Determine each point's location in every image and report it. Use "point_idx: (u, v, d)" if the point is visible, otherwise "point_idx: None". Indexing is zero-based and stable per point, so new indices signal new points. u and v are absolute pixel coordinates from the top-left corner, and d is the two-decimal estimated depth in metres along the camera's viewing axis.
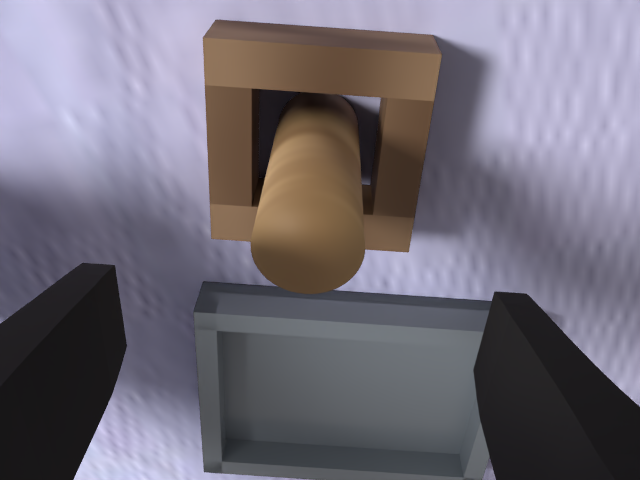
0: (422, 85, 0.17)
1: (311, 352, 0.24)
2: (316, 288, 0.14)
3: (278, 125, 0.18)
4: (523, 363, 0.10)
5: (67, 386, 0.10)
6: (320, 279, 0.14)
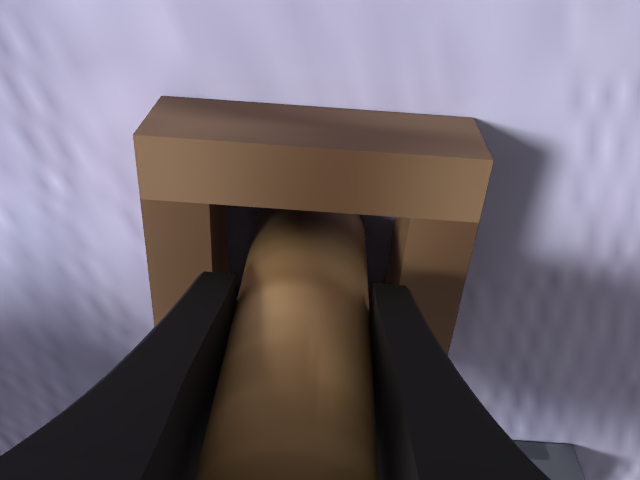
0: (462, 201, 0.11)
1: None
2: None
3: (252, 243, 0.13)
4: (382, 354, 0.10)
5: (206, 395, 0.10)
6: None
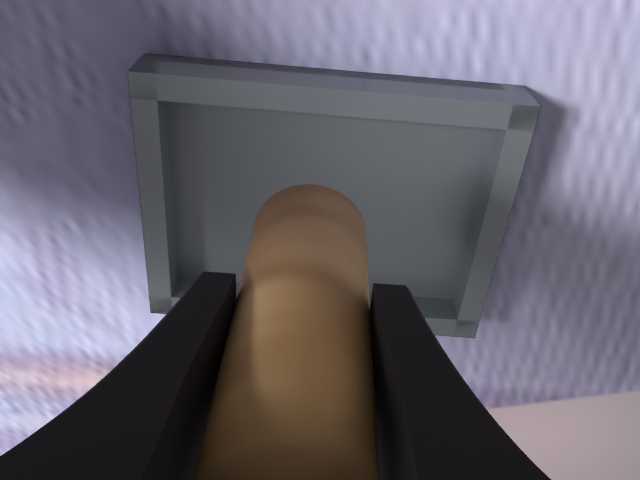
0: None
1: (276, 151, 0.20)
2: None
3: (251, 240, 0.13)
4: (382, 353, 0.10)
5: (207, 395, 0.10)
6: None
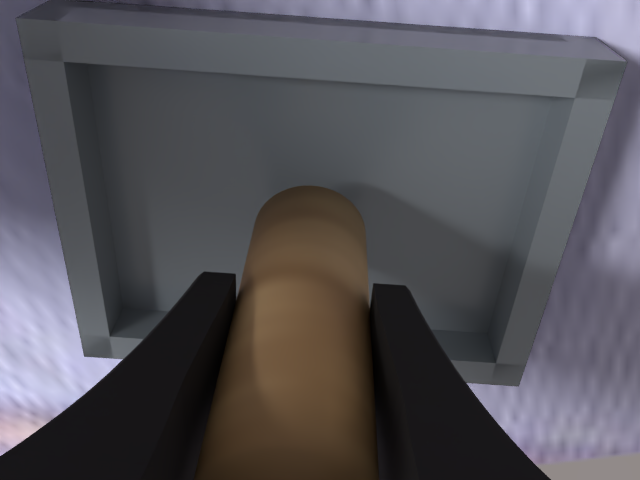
0: None
1: (244, 136, 0.14)
2: None
3: (251, 242, 0.13)
4: (382, 353, 0.10)
5: (207, 395, 0.10)
6: None
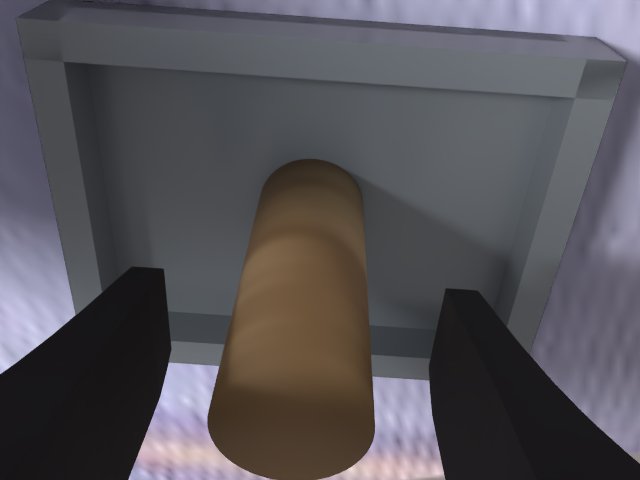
0: None
1: (244, 136, 0.14)
2: (306, 475, 0.10)
3: (258, 209, 0.14)
4: (466, 359, 0.10)
5: (124, 389, 0.10)
6: (311, 465, 0.10)
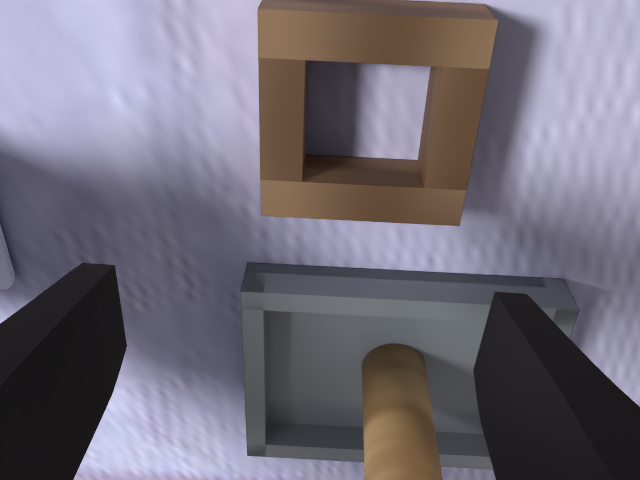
0: (478, 52, 0.17)
1: (355, 332, 0.24)
2: None
3: (365, 378, 0.24)
4: (523, 363, 0.10)
5: (66, 386, 0.10)
6: None
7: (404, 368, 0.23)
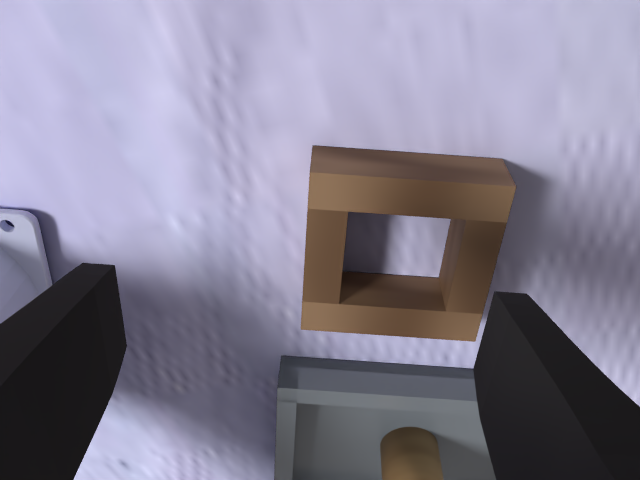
0: (497, 210, 0.19)
1: (376, 417, 0.27)
2: None
3: (385, 459, 0.26)
4: (523, 363, 0.10)
5: (67, 386, 0.10)
6: None
7: (420, 452, 0.26)
